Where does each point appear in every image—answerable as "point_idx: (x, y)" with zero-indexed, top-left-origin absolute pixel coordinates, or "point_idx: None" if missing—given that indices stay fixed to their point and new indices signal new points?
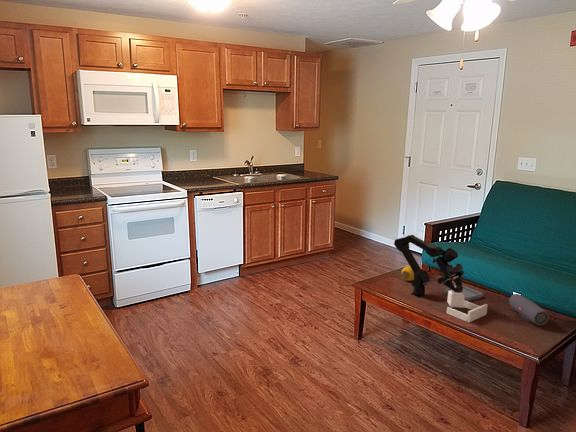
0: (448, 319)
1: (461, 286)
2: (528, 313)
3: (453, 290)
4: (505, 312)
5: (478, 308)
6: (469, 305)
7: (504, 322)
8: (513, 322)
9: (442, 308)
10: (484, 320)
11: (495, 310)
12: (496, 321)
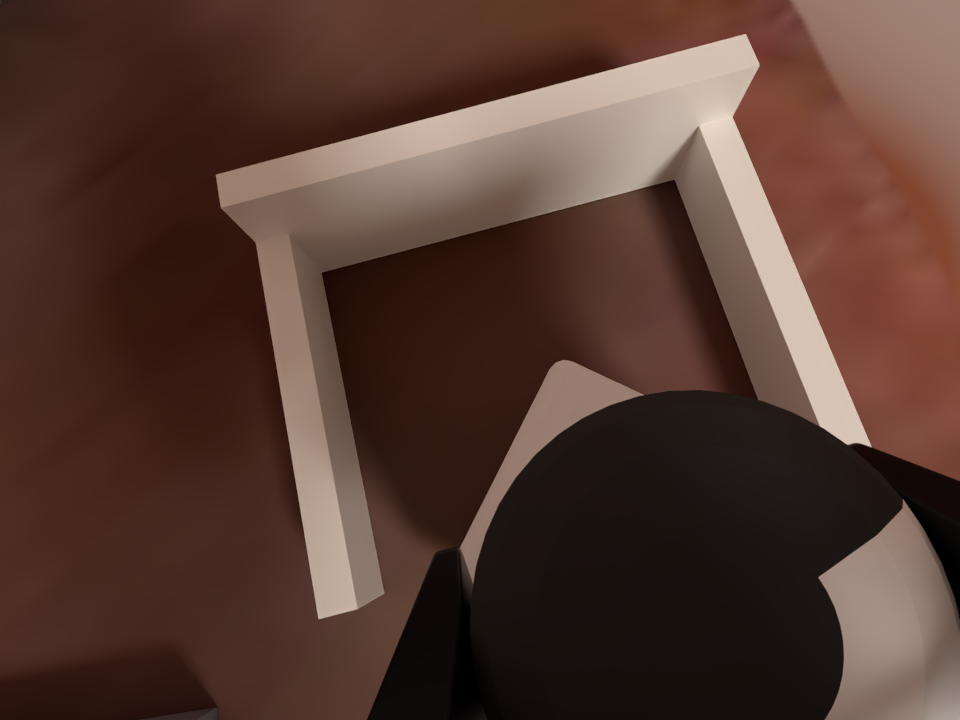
0: (922, 299)
1: (610, 467)
2: None
3: None
4: (12, 226)
5: (496, 101)
6: (347, 478)
7: (272, 38)
8: (180, 13)
9: None
10: None
11: (68, 311)
12: (336, 79)
